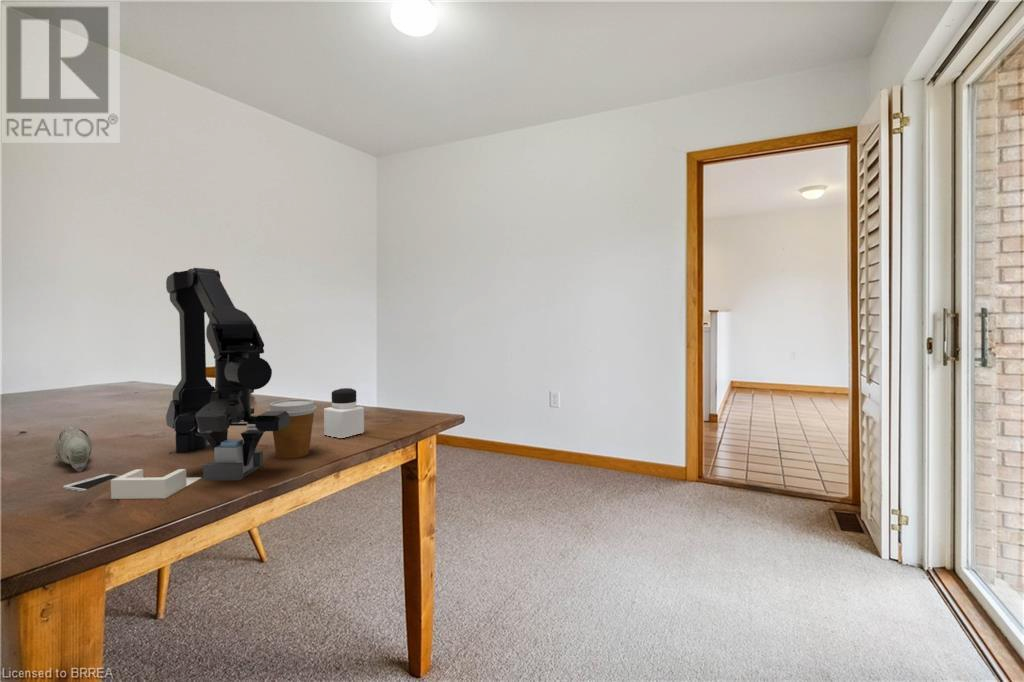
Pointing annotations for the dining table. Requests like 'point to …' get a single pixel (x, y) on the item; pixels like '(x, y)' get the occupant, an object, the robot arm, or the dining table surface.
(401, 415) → the dining table surface
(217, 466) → the holster
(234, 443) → the plug
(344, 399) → the medicine bottle
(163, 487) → the port
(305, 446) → the disposable coffee cup
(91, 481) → the smartphone
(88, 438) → the decorative bird
